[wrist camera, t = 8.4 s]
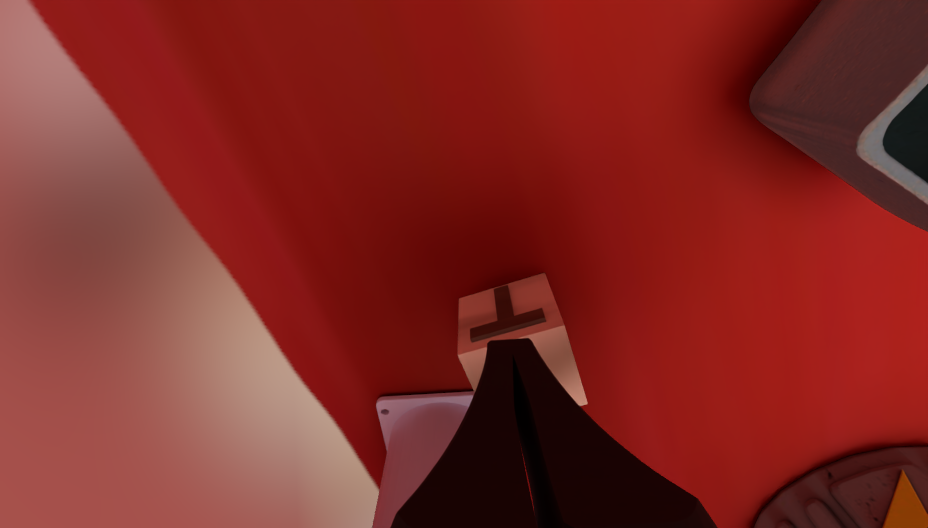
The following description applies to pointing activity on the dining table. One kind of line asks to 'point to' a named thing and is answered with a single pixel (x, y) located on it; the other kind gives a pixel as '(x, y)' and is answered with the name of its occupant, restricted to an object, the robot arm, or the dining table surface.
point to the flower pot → (857, 98)
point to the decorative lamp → (856, 493)
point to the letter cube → (517, 329)
